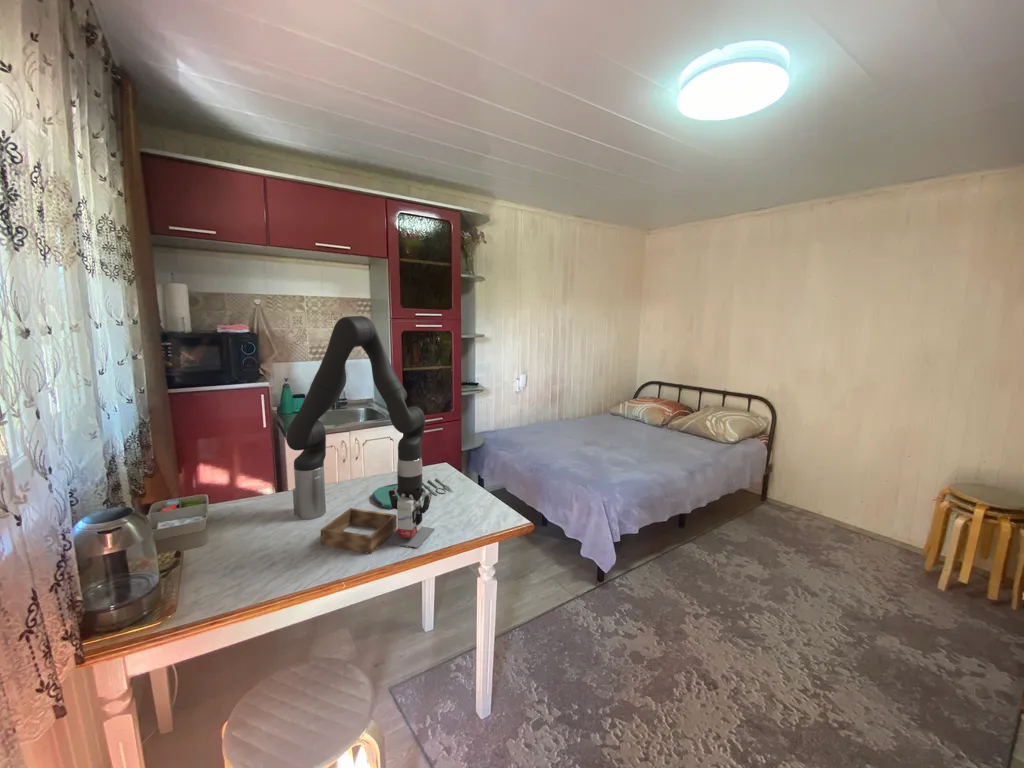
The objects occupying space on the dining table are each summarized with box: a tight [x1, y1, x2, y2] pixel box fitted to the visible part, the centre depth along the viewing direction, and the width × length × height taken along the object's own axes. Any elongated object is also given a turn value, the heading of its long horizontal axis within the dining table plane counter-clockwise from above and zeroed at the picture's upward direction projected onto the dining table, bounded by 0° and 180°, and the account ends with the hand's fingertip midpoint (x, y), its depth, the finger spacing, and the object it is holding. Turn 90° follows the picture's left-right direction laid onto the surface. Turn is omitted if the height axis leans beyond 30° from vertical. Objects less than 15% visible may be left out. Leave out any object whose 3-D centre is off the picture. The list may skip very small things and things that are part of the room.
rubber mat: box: [384, 526, 436, 549], centre depth 133 cm, size 11×12×1 cm
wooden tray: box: [320, 508, 398, 554], centre depth 132 cm, size 17×15×5 cm
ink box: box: [396, 496, 423, 538], centre depth 132 cm, size 9×5×12 cm, turn 168°
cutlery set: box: [372, 478, 454, 510], centre depth 165 cm, size 20×30×2 cm, turn 126°
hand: (410, 522), depth 133 cm, fingers closed on ink box, 5 cm apart
